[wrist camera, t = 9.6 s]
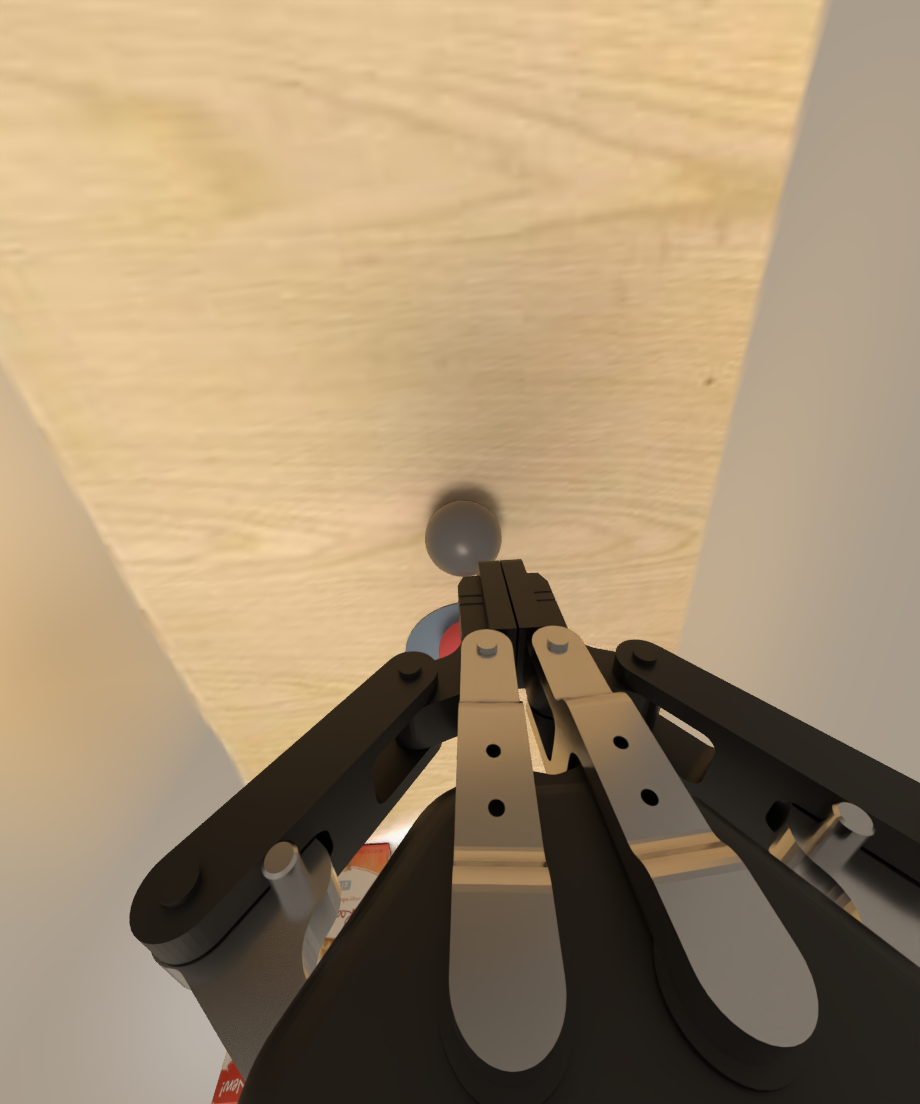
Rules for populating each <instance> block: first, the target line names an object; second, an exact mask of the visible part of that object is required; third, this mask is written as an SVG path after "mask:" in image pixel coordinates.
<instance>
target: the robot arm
mask: <svg viewBox="0 0 920 1104" xmlns="http://www.w3.org/2000/svg"><path fill="white" fill-rule="evenodd" d="M458 603H459V626H460V639H461V644H460V646H459V647H458V648H457V649H456V650H455V651H454V652H453V653H451V654H450V655H448V656H445V657H443V658H440V659H437V660H434V659H433V658H432V657H431V656H429V655H428V654H426V653H423V652H418V651H409V652H404V653H401V654H398V655H396V656H395V657H393V658H392V659H390V660H389V661H388V662H387V663H386V664H385V665H384V666H382V667H381V668H380V669H379V670H378V671H377V672H375V673H374V674H373V675H372V676H371V677H370V678H369V679H367V680H366V681H365V682H364V683H363V684H362V685H361V686H359V687H358V688H357V689H356V690H355V691H354V692H353V693H351V694H350V695H349V696H348V697H347V698H346V699H345V700H343V701H342V702H341V703H340V704H339V705H338V706H337V707H335V708H334V709H333V710H332V711H331V712H330V713H328V714H327V715H326V716H325V717H324V718H323V719H322V720H320V721H319V722H318V723H317V724H316V725H315V726H314V727H312V728H311V729H310V730H309V731H308V732H307V733H306V734H304V735H303V736H302V737H301V738H300V739H299V740H298V741H296V742H295V743H294V744H293V745H292V746H291V747H290V748H288V749H287V750H286V751H285V752H284V753H283V754H281V755H280V756H279V757H278V758H277V759H276V760H275V761H273V762H272V763H271V764H270V765H269V766H268V767H267V768H265V769H264V770H263V771H262V772H261V773H260V774H259V775H257V776H256V777H255V778H254V779H253V780H252V781H251V782H249V783H248V784H247V785H246V786H245V787H244V788H242V789H241V790H240V791H239V792H238V793H237V794H236V795H235V796H233V797H232V798H231V799H230V800H229V801H228V802H226V803H225V804H224V805H223V806H222V807H221V808H220V809H218V810H217V811H216V812H215V813H214V814H213V815H212V816H210V818H208V819H207V820H206V821H205V822H204V823H202V824H201V825H200V826H199V827H198V828H197V829H195V831H193V832H192V833H191V834H190V835H189V836H188V837H186V838H185V839H184V840H183V841H182V842H181V843H179V844H178V845H177V846H176V847H175V848H174V849H173V850H171V851H170V852H169V853H168V854H167V855H166V856H165V857H164V858H162V859H161V860H160V861H159V862H158V863H157V864H156V865H155V866H154V867H153V868H152V870H151V871H150V872H149V873H148V875H147V876H146V877H145V879H144V880H143V882H142V883H141V885H140V887H139V888H138V890H137V892H136V895H135V897H134V899H133V902H132V905H131V910H130V927H131V931H132V933H133V934H134V936H135V937H136V938H137V939H138V940H139V941H140V942H141V943H142V944H143V945H144V946H145V947H147V948H148V949H149V950H150V951H151V953H152V956H153V958H154V959H155V961H156V962H157V963H158V964H159V965H160V966H161V967H162V968H164V969H165V970H166V971H167V972H168V973H169V974H170V975H171V976H172V977H174V978H175V979H176V980H177V981H178V982H179V983H180V984H181V985H182V986H183V987H185V988H187V989H189V990H192V992H193V994H194V995H195V997H196V999H197V1001H198V1002H199V1004H200V1006H201V1008H202V1009H203V1011H204V1013H205V1014H206V1016H207V1018H208V1020H209V1021H210V1023H211V1025H212V1026H213V1028H214V1030H215V1031H216V1033H217V1035H218V1037H219V1038H220V1040H221V1042H222V1044H223V1045H224V1047H225V1048H226V1050H227V1052H228V1054H229V1056H230V1057H231V1059H232V1061H233V1062H234V1064H235V1066H236V1068H237V1069H238V1071H239V1073H240V1074H241V1076H242V1078H243V1079H244V1081H245V1084H244V1086H243V1089H242V1092H241V1094H240V1097H239V1100H238V1103H237V1104H920V783H919V782H917V781H915V780H913V779H911V778H909V777H907V776H906V775H904V774H902V773H900V772H898V771H896V770H894V769H892V768H890V767H888V766H886V765H884V764H883V763H881V762H879V761H877V760H875V759H873V758H871V757H869V756H867V755H865V754H863V753H862V752H859V751H858V750H856V749H854V748H852V747H850V746H848V745H846V744H844V743H842V742H841V741H839V740H837V739H835V738H833V737H831V736H829V735H827V734H825V733H823V732H822V731H819V730H818V729H816V728H814V727H812V726H810V725H808V724H806V723H804V722H802V721H801V720H798V719H797V718H795V717H793V716H791V715H789V714H787V713H785V712H783V711H781V710H780V709H777V708H776V707H774V706H772V705H770V704H768V703H766V702H764V701H762V700H760V699H759V698H757V697H755V696H753V695H751V694H749V693H747V692H745V691H743V690H741V689H739V688H737V687H736V686H734V685H731V684H730V683H728V682H726V681H724V680H722V679H720V678H718V677H717V676H715V675H713V674H711V673H709V672H707V671H705V670H703V669H701V668H699V667H697V666H696V665H693V664H692V663H690V662H688V661H686V660H684V659H682V658H680V657H678V656H676V655H675V654H673V653H671V652H669V651H667V650H665V649H663V648H661V647H659V646H657V645H655V644H653V643H650V642H647V641H643V640H628V641H624V642H622V643H621V644H619V646H618V647H617V649H616V652H614V651H608V650H603V649H597V648H593V647H590V646H587V645H585V644H584V642H583V641H582V639H581V638H580V636H579V635H578V634H576V633H575V632H574V631H572V630H570V629H568V627H567V625H566V623H565V621H564V618H563V616H562V614H561V611H560V609H559V607H558V604H557V602H556V601H555V597H554V595H553V593H552V590H551V588H550V586H549V583H548V581H547V580H546V579H544V578H543V577H542V576H541V575H540V574H538V573H526V570H525V567H524V564H523V562H522V560H521V559H517V560H500V562H499V561H478V562H477V576H466V577H463V578H462V580H461V581H460V583H459V585H458ZM521 688H525V689H526V694H527V705H526V710H527V714H528V717H529V721H530V724H531V727H532V730H533V733H534V736H535V739H536V742H537V745H538V748H539V751H540V754H541V758H542V761H543V764H544V767H545V770H546V774H545V773H540V772H535V771H533V769H532V761H531V754H530V747H529V740H528V732H527V725H526V718H525V711H524V705H523V702H522V701H520V700H519V693H518V689H521ZM660 708H662V709H664V710H666V711H667V712H669V713H670V714H672V715H674V716H675V717H677V718H679V719H680V720H682V721H683V722H685V723H686V724H688V725H690V726H691V727H693V728H694V729H696V730H698V731H699V732H701V733H702V734H704V735H705V736H706V737H708V738H709V739H710V741H711V742H712V743H713V745H714V748H713V747H710V746H708V745H706V744H705V743H703V742H702V741H700V740H699V739H697V738H695V737H694V736H692V735H691V734H689V733H688V732H686V731H684V730H683V729H681V728H680V727H678V726H677V725H675V724H674V723H672V722H670V721H669V720H667V719H666V718H664V717H663V716H661V715H659V711H660ZM456 736H458V741H457V773H456V787H454V788H453V789H451V790H449V791H447V792H445V793H444V794H442V795H441V796H439V797H438V798H436V799H435V800H434V801H433V802H432V803H431V804H430V805H428V807H427V808H426V809H425V810H424V811H423V812H422V813H421V814H420V816H419V817H418V818H417V820H416V821H415V823H414V824H413V826H412V827H411V828H410V830H409V831H408V833H407V834H406V836H405V837H404V839H403V840H402V842H401V843H400V845H399V846H398V847H397V849H396V850H395V852H394V853H393V855H392V856H391V858H390V859H389V861H388V862H387V864H386V865H385V866H384V868H383V869H382V871H381V872H380V874H379V875H378V877H377V878H376V880H375V881H374V882H373V884H372V885H371V887H370V888H369V890H368V891H367V893H366V894H365V896H364V897H363V899H362V900H361V901H360V903H359V904H358V906H357V907H356V909H355V910H354V912H353V913H352V915H351V916H350V918H349V919H348V920H347V922H346V923H345V925H344V926H343V928H342V929H341V931H340V932H339V934H338V935H337V937H336V938H335V939H334V941H333V942H332V944H331V945H330V947H329V948H328V950H327V951H326V953H325V954H324V955H323V957H322V958H321V960H320V961H319V963H318V964H317V960H318V955H319V952H320V949H321V946H322V944H323V942H324V940H325V938H326V936H327V934H328V933H329V931H330V929H331V927H332V926H333V924H334V922H335V920H336V917H337V915H338V912H339V908H340V903H341V887H340V883H339V880H338V876H339V875H340V874H341V872H342V871H343V870H344V869H345V867H346V866H347V865H348V864H349V862H350V861H351V860H352V858H353V857H354V856H355V855H356V853H357V852H358V851H359V850H360V848H361V847H362V846H363V845H364V843H365V842H366V841H367V840H368V838H369V837H370V836H371V835H372V833H373V832H374V831H375V830H376V828H377V827H378V826H379V825H380V823H381V822H382V821H383V820H384V818H385V817H386V816H387V815H388V813H389V812H390V811H391V810H392V808H393V807H394V806H395V805H396V803H397V802H398V801H399V800H400V798H401V797H402V796H403V795H404V793H405V792H406V791H407V790H408V788H409V787H410V786H411V785H412V783H413V782H414V781H415V780H416V778H417V777H418V776H419V775H420V773H421V772H422V771H423V770H424V768H425V767H426V766H427V765H428V763H429V762H430V761H431V760H432V758H433V757H434V756H435V755H436V753H437V752H438V751H439V749H440V747H441V744H442V742H444V741H446V740H449V739H451V738H454V737H456ZM316 965H317V966H316Z"/></svg>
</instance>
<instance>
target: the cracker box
mask: <svg viewBox="0 0 920 1104" xmlns="http://www.w3.org/2000/svg"><path fill="white" fill-rule="evenodd" d="M390 858H391V854H390V848H389V844H383V845H364V846H362V847H361V848H360V850H359V851H358V852H357V853H356V855H355V856H354V857H353V858H352V860H351V861H350V862H349V864H348V865H347V866H346V867H345V869H344V870H343V871H342V872H341V874H340V875H339V876H338V880H339V883H340V887H341V903H340V908H339V912H338V915H337V917H336V920H335V922H334V924H333V926H332V927H331V929H330V931H329V933H328V934H327V936H326V938H325V940H324V942H323V944H322V946H321V949H320V952H319V955H318V960H317V964H318V963H319V961H320V960H321V958H322V957H323V955H324V954H325V953H326V951H327V950H328V948H329V947H330V945H331V944H332V942H333V941H334V939H335V938H336V937H337V935H338V934H339V932H340V931H341V929H342V928H343V926H344V925H345V923H346V922H347V920H348V919H349V918H350V916H351V915H352V913H353V912H354V910H355V909H356V907H357V906H358V904H359V903H360V901H361V900H362V899H363V897H364V896H365V894H366V893H367V891H368V890H369V888H370V887H371V885H372V884H373V882H374V881H375V880H376V878H377V877H378V875H379V874H380V872H381V871H382V869H383V868H384V866H385V865H386V864H387V862H388V861H389V859H390ZM316 966H317V965H316ZM244 1084H245V1081H244V1079H243V1078H242V1076H241V1074H240V1073H239V1071H238V1069H237V1068H236V1066H235V1064H234V1062H233V1061H232V1059H231V1057H230V1056H229V1054H228V1052H227V1053H226V1056H225V1059H224V1062H223V1066H222V1069H221V1073H220V1076H219V1080H218V1083H217V1086H216V1090H215V1093H214V1097H213V1100H212V1103H211V1104H237V1103H238V1100H239V1097H240V1094H241V1092H242V1089H243V1086H244Z"/></svg>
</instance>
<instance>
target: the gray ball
mask: <svg viewBox="0 0 920 1104" xmlns="http://www.w3.org/2000/svg"><path fill="white" fill-rule="evenodd" d="M425 543H426V548H427V552H428V554H429V556H430V558H431V559H432V561H433V562H434V563H435V565H436V566H437V567H439V568H440V569H441V570H443V571H444V572H446V573H448V574H451V575H454V576H461V577H466V576H472V575H476V574H477V562H478V561H494V560H495V559H496V557H497V555H498V553H499V551H500V547H501V530H500V526H499V524H498V521H497V520H496V518H495V516H494V515H493V514H492V513H491V512H490V511H489V510H488V509H487V508H486V507H484V506H483V505H481V504H479V503H476V502H473V501H467V500H459V501H454V502H450V503H448V504H446V505H444V506H442V507H441V508H440V509H439V510H437V511H436V512H435V513H434V515H433V516H432V517H431V519H430V521H429V523H428V525H427V529H426V534H425Z"/></svg>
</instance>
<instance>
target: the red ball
mask: <svg viewBox="0 0 920 1104" xmlns="http://www.w3.org/2000/svg"><path fill="white" fill-rule="evenodd" d="M460 644H461V639H460V626H459V622H457V623H455V624H453V625H452V626H450V627H449V628H448V629H447V630H446V632H445V633H444V635H443V636H442V639H441V641H440V645H439V659H440V658H443V657H445V656H448V655H450V654H451V653H453V652H454V651H455V650H456V649H457V648H458V647H459V646H460Z"/></svg>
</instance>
